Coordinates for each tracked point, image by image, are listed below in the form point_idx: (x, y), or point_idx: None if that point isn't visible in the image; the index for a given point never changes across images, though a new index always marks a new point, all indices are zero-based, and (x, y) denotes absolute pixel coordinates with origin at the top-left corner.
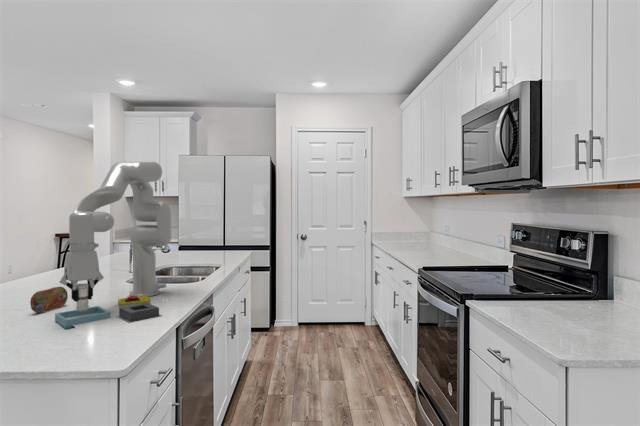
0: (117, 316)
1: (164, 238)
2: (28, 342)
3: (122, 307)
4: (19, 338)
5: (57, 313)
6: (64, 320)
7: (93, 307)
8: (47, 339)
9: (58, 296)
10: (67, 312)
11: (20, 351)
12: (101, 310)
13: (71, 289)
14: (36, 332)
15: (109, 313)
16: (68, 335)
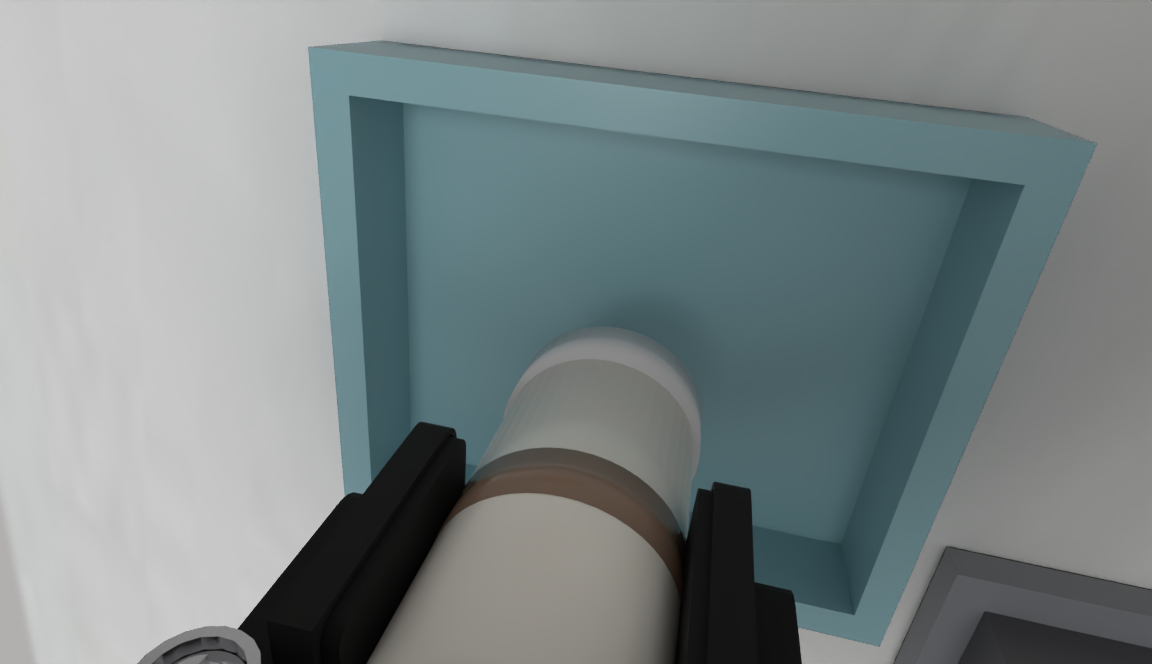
0: (957, 606)
1: None
2: (122, 523)
3: None
4: (57, 377)
5: (338, 84)
6: (349, 485)
7: (956, 173)
8: (235, 570)
9: None
10: (488, 111)
11: (92, 632)
12: (926, 409)
13: (214, 656)
14: (171, 321)
15: (864, 628)
16: None
